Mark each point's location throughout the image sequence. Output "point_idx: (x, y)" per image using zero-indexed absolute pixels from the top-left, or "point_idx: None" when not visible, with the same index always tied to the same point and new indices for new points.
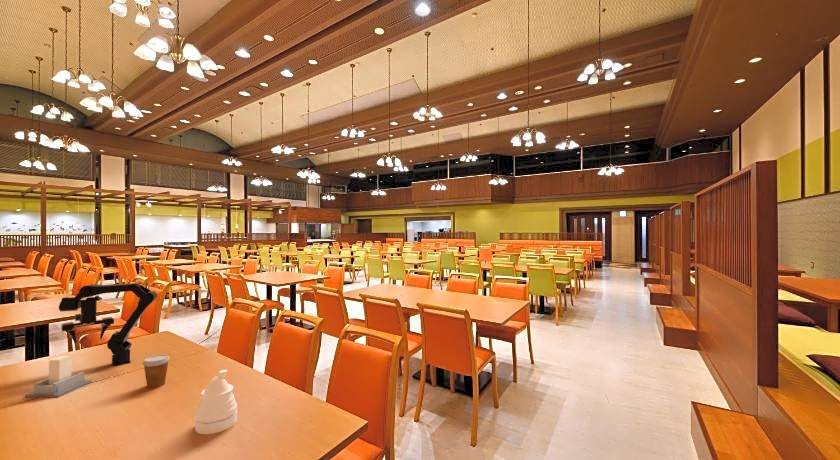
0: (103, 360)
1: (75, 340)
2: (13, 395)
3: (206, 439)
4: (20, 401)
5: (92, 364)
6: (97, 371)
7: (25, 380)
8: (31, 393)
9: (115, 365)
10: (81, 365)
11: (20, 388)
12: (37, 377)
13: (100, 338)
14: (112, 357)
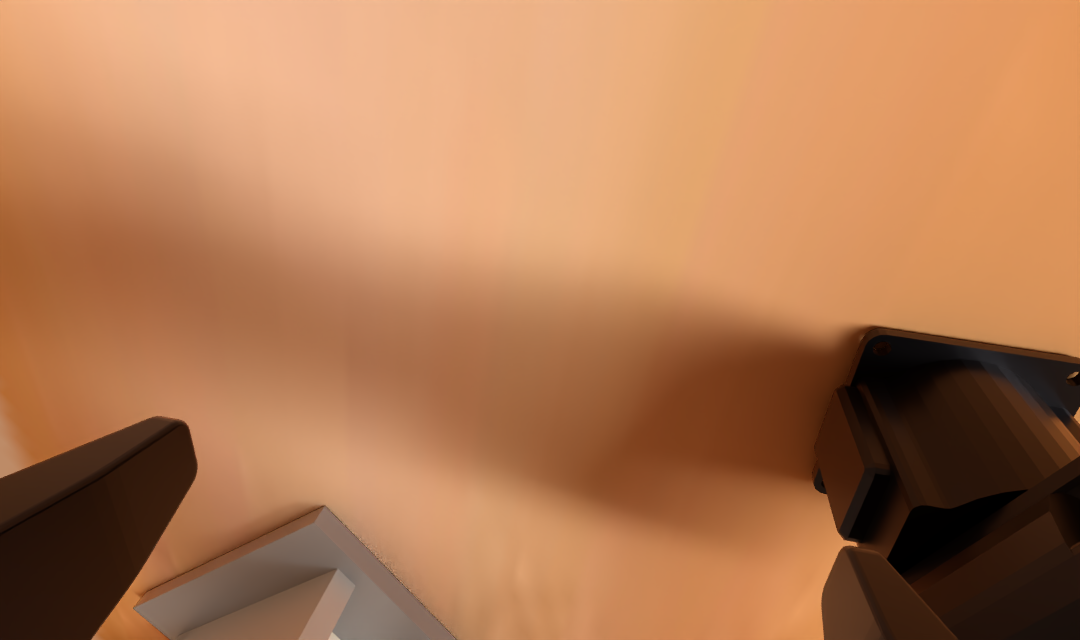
0: (881, 14)
1: (122, 578)
2: None
3: None
4: (143, 637)
5: (676, 122)
6: (620, 489)
7: (10, 139)
8: (166, 623)
9: (821, 488)
10: (551, 18)
11: (56, 381)
12: (99, 130)
13: (824, 623)
14: (835, 520)
